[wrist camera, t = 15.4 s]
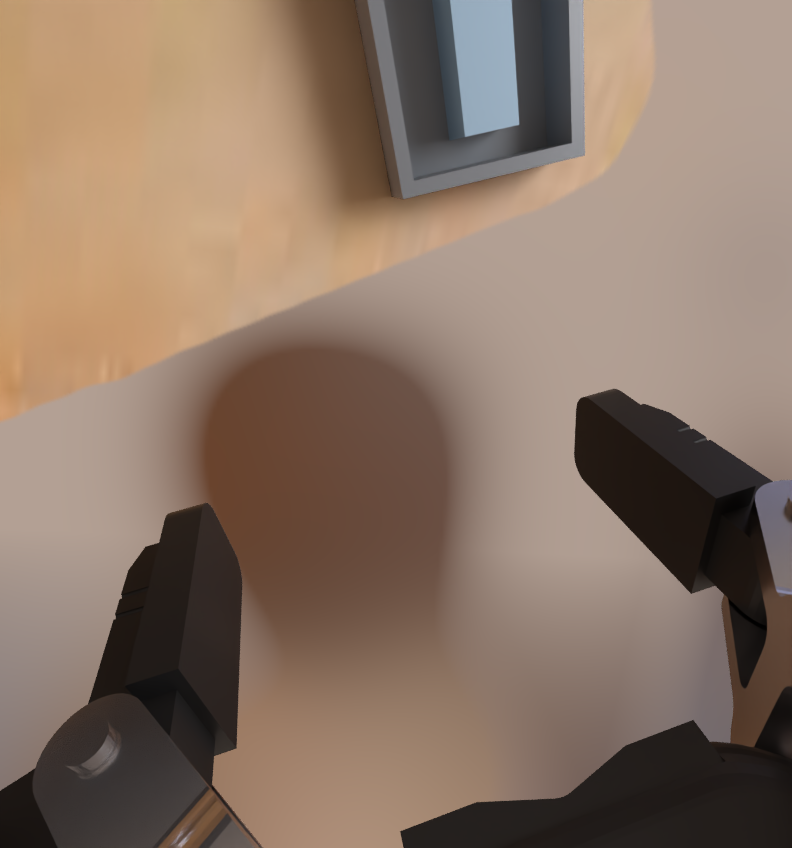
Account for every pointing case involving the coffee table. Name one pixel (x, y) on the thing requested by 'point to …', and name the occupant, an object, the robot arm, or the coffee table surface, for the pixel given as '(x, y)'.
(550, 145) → the tray
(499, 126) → the blue grey bar
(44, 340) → the coffee table surface
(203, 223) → the coffee table surface
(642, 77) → the coffee table surface
